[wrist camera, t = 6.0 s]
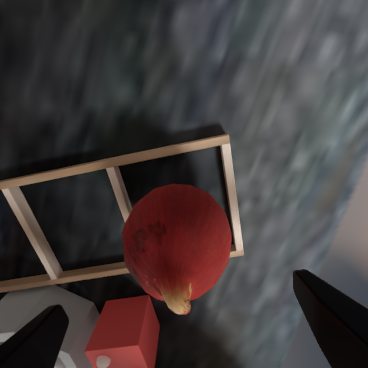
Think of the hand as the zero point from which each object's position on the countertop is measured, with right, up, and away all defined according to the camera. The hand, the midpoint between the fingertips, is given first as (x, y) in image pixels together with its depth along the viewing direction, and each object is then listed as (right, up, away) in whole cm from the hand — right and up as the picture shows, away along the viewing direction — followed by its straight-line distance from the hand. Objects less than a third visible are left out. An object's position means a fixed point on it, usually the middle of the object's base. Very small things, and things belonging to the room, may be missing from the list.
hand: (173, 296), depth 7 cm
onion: (0, +3, +7) cm, 8 cm away
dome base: (-10, -9, +11) cm, 17 cm away
